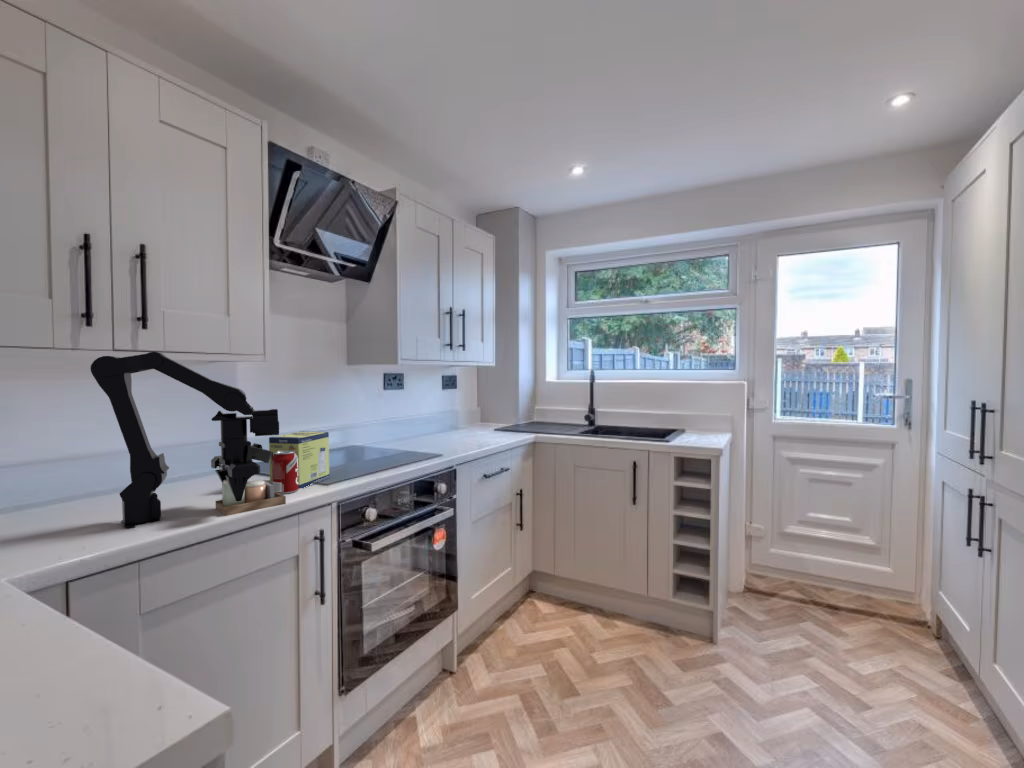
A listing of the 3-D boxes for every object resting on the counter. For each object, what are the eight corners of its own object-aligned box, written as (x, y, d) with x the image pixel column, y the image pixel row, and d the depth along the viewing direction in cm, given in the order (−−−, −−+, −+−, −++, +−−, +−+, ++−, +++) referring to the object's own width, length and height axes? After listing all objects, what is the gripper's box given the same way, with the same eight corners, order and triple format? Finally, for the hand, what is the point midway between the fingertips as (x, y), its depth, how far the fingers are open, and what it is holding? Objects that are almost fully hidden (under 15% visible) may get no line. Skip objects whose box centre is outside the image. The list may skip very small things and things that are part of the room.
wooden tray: (225, 517, 116) (225, 507, 116) (215, 510, 122) (215, 500, 122) (285, 505, 126) (285, 496, 126) (273, 499, 132) (273, 490, 132)
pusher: (270, 505, 124) (270, 485, 124) (261, 500, 129) (260, 481, 129) (274, 504, 125) (274, 485, 125) (265, 499, 130) (264, 481, 130)
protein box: (269, 488, 144) (267, 437, 144) (302, 477, 160) (301, 430, 159) (299, 490, 142) (298, 438, 142) (330, 478, 157) (329, 431, 157)
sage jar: (248, 503, 121) (247, 479, 121) (226, 507, 118) (225, 483, 117) (241, 499, 125) (240, 476, 125) (219, 503, 121) (219, 479, 121)
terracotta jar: (248, 509, 121) (247, 485, 121) (241, 505, 125) (241, 482, 125) (269, 505, 125) (268, 482, 125) (262, 501, 128) (262, 479, 128)
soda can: (280, 497, 134) (279, 454, 134) (268, 493, 138) (267, 452, 138) (303, 492, 140) (302, 451, 139) (291, 488, 144) (290, 449, 143)
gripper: (281, 437, 120) (282, 499, 121) (255, 431, 133) (257, 487, 134) (232, 442, 112) (233, 508, 113) (209, 435, 125) (211, 494, 126)
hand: (235, 499), depth 121 cm, fingers closed on sage jar, 5 cm apart
